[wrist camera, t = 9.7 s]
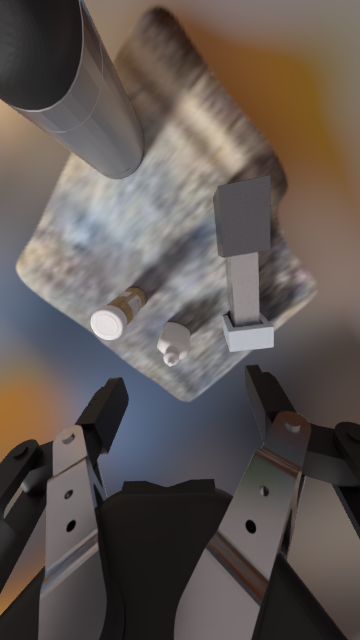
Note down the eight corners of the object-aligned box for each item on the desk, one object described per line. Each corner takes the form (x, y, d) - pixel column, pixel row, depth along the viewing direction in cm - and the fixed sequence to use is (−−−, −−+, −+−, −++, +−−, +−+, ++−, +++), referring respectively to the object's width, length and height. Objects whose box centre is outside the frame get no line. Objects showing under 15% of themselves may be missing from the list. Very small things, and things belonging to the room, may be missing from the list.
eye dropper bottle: (176, 345, 41) (170, 383, 30) (160, 326, 40) (147, 358, 29) (193, 335, 40) (192, 370, 29) (176, 314, 39) (169, 343, 28)
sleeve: (213, 197, 31) (217, 186, 25) (254, 189, 30) (270, 175, 24) (218, 254, 34) (223, 257, 28) (255, 248, 33) (270, 250, 27)
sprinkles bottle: (126, 283, 37) (92, 304, 25) (149, 291, 37) (126, 316, 25) (121, 305, 39) (86, 334, 26) (143, 312, 39) (119, 345, 27)
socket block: (222, 315, 38) (228, 332, 31) (258, 310, 37) (273, 326, 30) (223, 332, 39) (230, 351, 33) (259, 328, 39) (273, 347, 32)
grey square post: (224, 240, 33) (229, 239, 28) (248, 235, 32) (257, 234, 28) (231, 325, 38) (236, 337, 34) (251, 323, 38) (259, 334, 33)
